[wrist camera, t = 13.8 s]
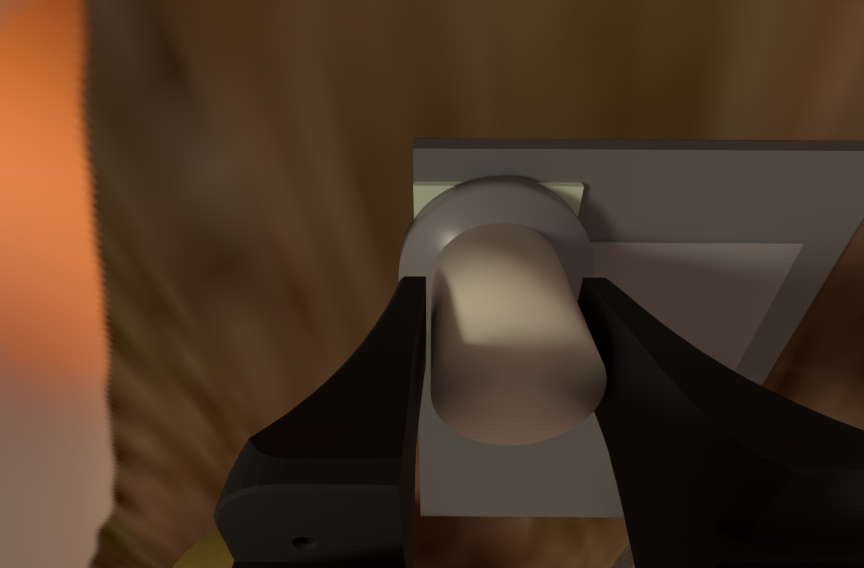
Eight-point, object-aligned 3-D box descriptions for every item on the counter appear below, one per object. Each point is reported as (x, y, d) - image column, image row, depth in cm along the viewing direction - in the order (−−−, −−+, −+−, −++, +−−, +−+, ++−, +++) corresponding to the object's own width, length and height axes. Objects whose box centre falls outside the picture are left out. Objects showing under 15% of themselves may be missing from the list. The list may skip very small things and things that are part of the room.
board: (878, 140, 14) (944, 167, 12) (674, 501, 25) (692, 543, 24) (414, 138, 14) (411, 165, 12) (420, 499, 25) (419, 541, 24)
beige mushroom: (600, 171, 13) (686, 281, 9) (571, 329, 17) (622, 465, 12) (392, 179, 13) (372, 290, 9) (407, 334, 17) (398, 470, 12)
